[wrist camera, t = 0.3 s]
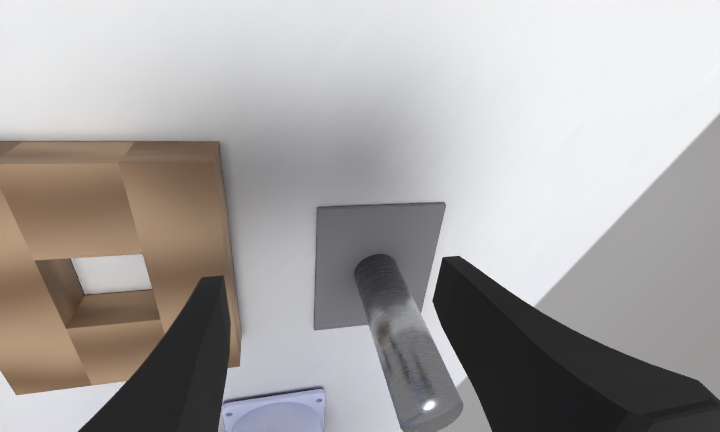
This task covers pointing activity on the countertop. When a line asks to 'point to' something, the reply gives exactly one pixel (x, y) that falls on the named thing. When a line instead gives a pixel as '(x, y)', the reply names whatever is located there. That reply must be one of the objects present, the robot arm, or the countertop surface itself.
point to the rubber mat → (365, 238)
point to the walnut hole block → (104, 254)
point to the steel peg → (406, 349)
